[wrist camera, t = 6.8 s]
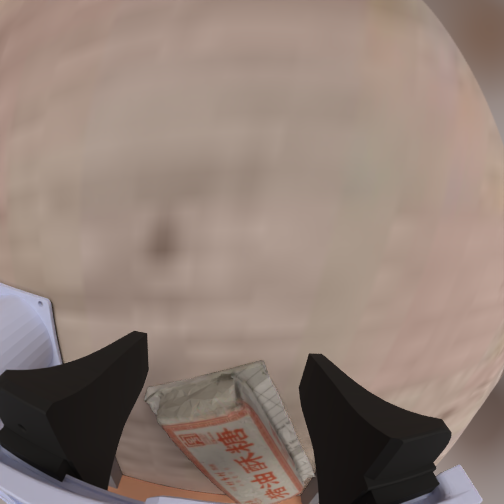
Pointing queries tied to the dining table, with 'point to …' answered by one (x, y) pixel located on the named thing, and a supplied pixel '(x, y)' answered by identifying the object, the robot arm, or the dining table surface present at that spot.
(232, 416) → the packaged product
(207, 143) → the dining table surface
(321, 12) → the dining table surface
